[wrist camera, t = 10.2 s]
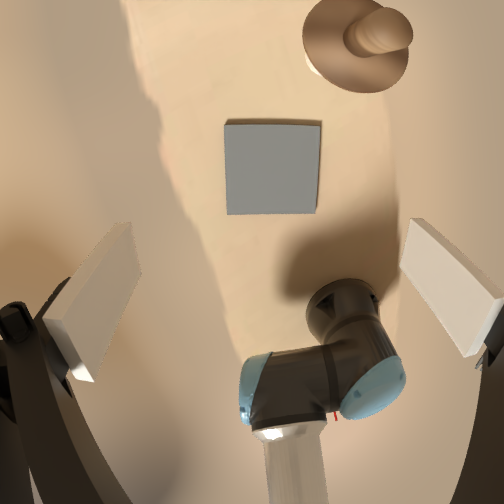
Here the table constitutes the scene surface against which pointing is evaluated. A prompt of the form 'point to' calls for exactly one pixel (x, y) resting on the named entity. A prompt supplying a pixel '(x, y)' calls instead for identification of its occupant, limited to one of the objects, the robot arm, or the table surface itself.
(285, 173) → the mat
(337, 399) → the robot arm
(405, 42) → the lid
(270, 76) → the table surface
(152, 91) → the table surface
